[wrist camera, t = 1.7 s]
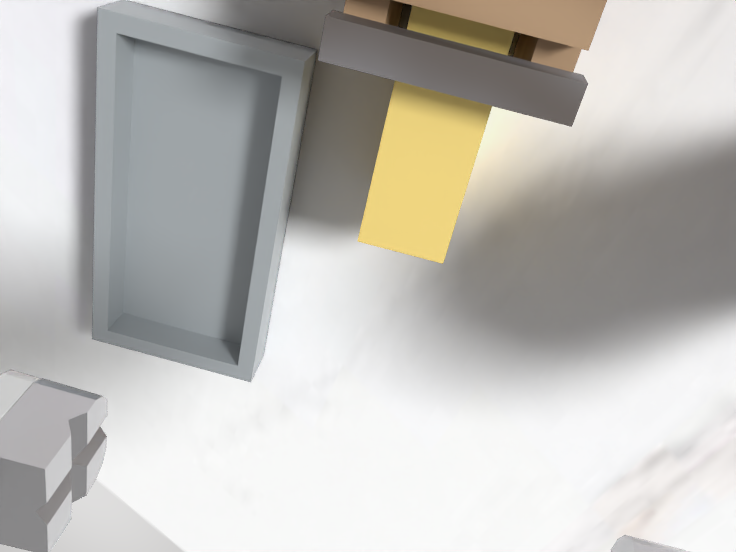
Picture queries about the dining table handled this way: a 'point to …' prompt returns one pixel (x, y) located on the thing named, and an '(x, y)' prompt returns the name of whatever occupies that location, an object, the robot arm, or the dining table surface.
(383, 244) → the yellow rectangular block
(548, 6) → the dispenser
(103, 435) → the robot arm
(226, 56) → the tray
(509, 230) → the dining table surface
